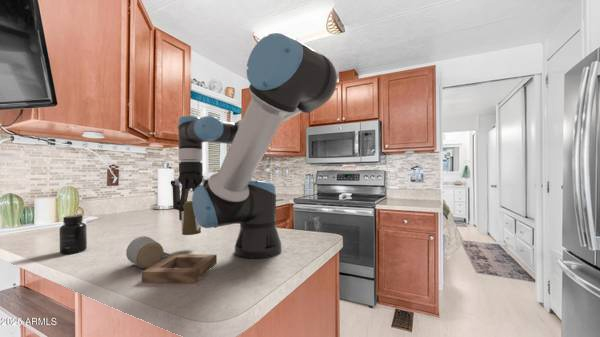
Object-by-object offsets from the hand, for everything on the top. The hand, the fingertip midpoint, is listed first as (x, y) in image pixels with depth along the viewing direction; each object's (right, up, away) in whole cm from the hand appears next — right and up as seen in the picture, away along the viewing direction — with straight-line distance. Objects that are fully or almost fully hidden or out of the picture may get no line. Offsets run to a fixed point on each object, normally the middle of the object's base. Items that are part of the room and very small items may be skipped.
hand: (191, 229), depth 86 cm
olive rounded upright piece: (0, -1, 0) cm, 1 cm away
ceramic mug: (-6, -7, -14) cm, 17 cm away
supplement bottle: (-39, -7, -1) cm, 40 cm away
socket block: (+6, -6, -20) cm, 22 cm away
